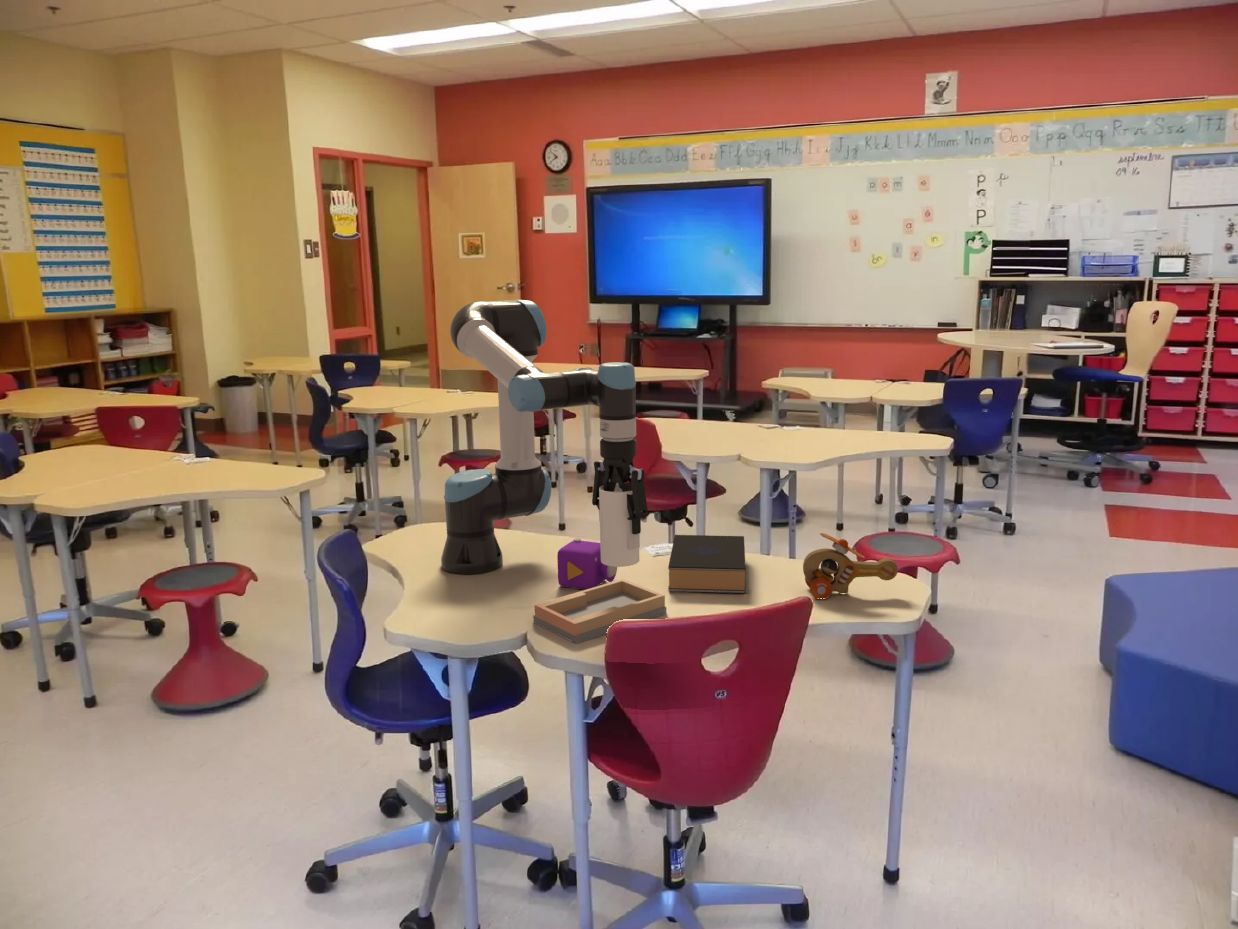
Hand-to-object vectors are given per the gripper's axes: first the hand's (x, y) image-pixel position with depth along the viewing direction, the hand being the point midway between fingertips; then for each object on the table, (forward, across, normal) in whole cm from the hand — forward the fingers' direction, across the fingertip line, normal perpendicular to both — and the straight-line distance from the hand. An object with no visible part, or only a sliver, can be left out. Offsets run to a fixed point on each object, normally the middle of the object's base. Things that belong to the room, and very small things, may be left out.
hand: (620, 543), depth 198 cm
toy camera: (+15, -18, +6) cm, 25 cm away
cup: (+4, 0, 0) cm, 4 cm away
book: (+16, -4, +30) cm, 35 cm away
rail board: (+15, 0, -6) cm, 16 cm away
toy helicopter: (+16, +25, +44) cm, 53 cm away
